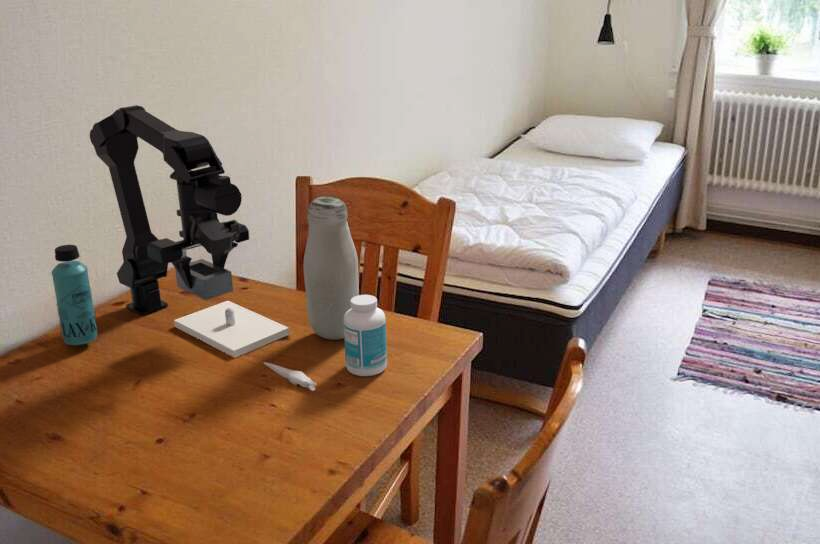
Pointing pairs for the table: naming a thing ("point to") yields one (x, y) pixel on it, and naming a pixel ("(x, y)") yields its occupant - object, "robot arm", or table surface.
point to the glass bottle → (329, 267)
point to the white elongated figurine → (293, 376)
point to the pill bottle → (365, 337)
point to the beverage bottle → (73, 297)
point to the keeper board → (231, 328)
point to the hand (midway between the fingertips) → (204, 283)
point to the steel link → (207, 280)
